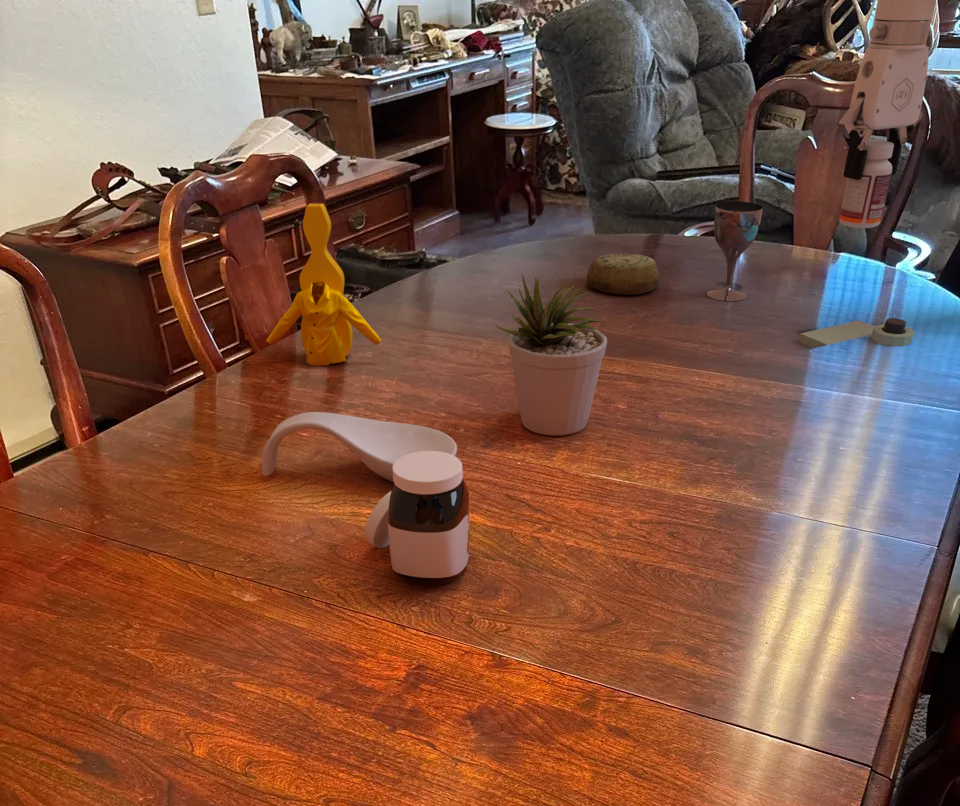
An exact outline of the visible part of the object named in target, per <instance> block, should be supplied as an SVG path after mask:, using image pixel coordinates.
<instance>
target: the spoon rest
mask: <svg viewBox="0 0 960 806" xmlns="http://www.w3.org/2000/svg"><path fill="white" fill-rule="evenodd" d="M303 430H318V431H322V432H324V433H327V434H328V435H330V436H332V437H334V438H335V439H337V441H339V442H340V443H342V445H344V447H346V448H347V449H349V450H350V451H351V453H353V454H354V456H355V457H357V458H358V459H359V460H360V461H361V462H362V463H363V464H364V465H365V467H367V468H368V469H369V470H371V471H372V472H373V473H375V474H377V475H378V476H380V477H382V478H383V479H385V480H387V481H389V482H391V483H394V482H393V469H392V466H393V464H394V462H395V461H396V460H397V459H399V458H400V457H402V456H404V455H407V454H410V453H414V452H420V451H439V452H445V453H448V454H451V455H453V456H455V457H456V455H457V452H458V446H457V442H456V441H455V440H454V439H453V438H452V437H451V436H449V435H448V434H447V433H445V432H443V431H440V430H438V429H435V428H430V427H429V426H428V427H427V426H423V425H419V424H411V423H404V422H397V421H395V422H394V421H387V420H379V419H371V418H366V417H359V416H353V415H348V414H342V413H333V412H326V411H325V412H324V411H309V412H302V413H299V414H295V415H292V416H290V417H288V418H286V419H284V420H283V421H281V422H280V423H279V424H278V425H277V426H276V427H275V428H274V430H273V432H272V434H271V436H270V437H269V439H268V441H267V442H266V444H265V446H264V449H263V453H262V459H261V474H262V476H264V477H269V476H271V475H272V474H273V473H274V472H275V470H276V467H277V465H278V462H279V461H278V460H279V447H280V446H279V445H280V443H281V441H282V440H284V438H285V437H287V436H289V435H290V434H293V433H295V432H298V431H303Z"/></svg>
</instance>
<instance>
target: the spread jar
mask: <svg viewBox="0 0 960 806" xmlns="http://www.w3.org/2000/svg"><path fill="white" fill-rule="evenodd" d="M392 469H393V482H392V483H393V485H392V487H391V490H390V491H389V492H388V493H386V494H385V495H384V496H383V497H382V498H381V499H380V500H379V501H378V502H377V504H376V505H375V506H374V508H373V509H372V511H371V513H370V514H369V516H368V518H367V520H366V524H365V526H364V530H363V531H364V533H363V535H364V538H365V541H367V542H368V543H369V544H371V545H372V546H374V547H375V548H377V549H384V548H386V547H388V546H389V555H390V556H389V557H390V564H391V568H392V570H393V572H394V574H396V576H398V577H399V578H401V579H404V580H406V581H408V582H410V583H412V584H413V583H414V584H417V585H422V586H439V585H444V584H448V583H450V582H453V581H455V580H457V579H459V578H461V577H462V575H463V574H464V573H465V572H466V569H467V567H468V565H469V564H468V563H469V557H470V545H471V521H470V519H471V516H470V515H471V514H470V493H469V488H468V485H467V483H466V481H465V479H464V478H463V462H462V461H461V459H460V458H459V457H457V456H456V455H455V456H453V455H451V454H448V453H445V452H439V451H420V452H414V453H410V454H407V455H404V456H402V457H400V458H399V459H397V460H396V461H395V462H394V464H393V466H392Z"/></svg>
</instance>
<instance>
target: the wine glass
mask: <svg viewBox="0 0 960 806" xmlns="http://www.w3.org/2000/svg"><path fill="white" fill-rule="evenodd" d="M763 209H764V208H763V205H761V204H758V203H754V202H749V201H738V200H737V201H736V200H735V201H734V200H733V201H723V202H722V201H721V202H718V203H717V204H715V209H714V217H713V218H714V219H713V232H714V239H715V242H716V244H717V245H718V248H720V250H721V252H722V254H723V255H724V257H725V259H726V260H725V261H726V264H727V266H726V269H727V270H726V280H725V281H726V282H725V286H724V287H723V288H714V289H711V290H709V291H707V292H706V296H707V297H708V298H710V299H713V300H717V301H723V302H737V301H742V300H744V299H745V300H746V298H747V294H746V293H745V292H743V291H740V290H738V289H732V288H731V284H732V283H731V282H732V276H733V273H734V268H735V265H736V262H737V261H738V259H739V257H741V255H742V254H743V253H744V252H746V250H747V249H748V248H749V247H751V246H752V244H753V243H754V241H755V239H756V237H757V234H758V232H759V229H760V225H761V220H762V216H763Z"/></svg>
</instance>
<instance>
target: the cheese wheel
mask: <svg viewBox="0 0 960 806" xmlns="http://www.w3.org/2000/svg"><path fill="white" fill-rule="evenodd" d="M586 281H587V284H588V285H589V286H590V287H591V288H592V289H594V290H597V291H598V292H599V291H600V292H602V293H605V294H614V295H629V296H632V295H641V294H642V295H643V294H645V293H649V292H651V291H654V290H655V289H656V288H657V287H658V285H659V283H660V272H659V268H658V266H657V263H656V261H655V260H654V259H653V258H651V257H650V256H647V255H643V254H638V253H609V254H603V255H600V256H597V257H596V258H595V259H594V260H593V261H592V262H591V264H590V265H589V268H588V271H587V274H586Z"/></svg>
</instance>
